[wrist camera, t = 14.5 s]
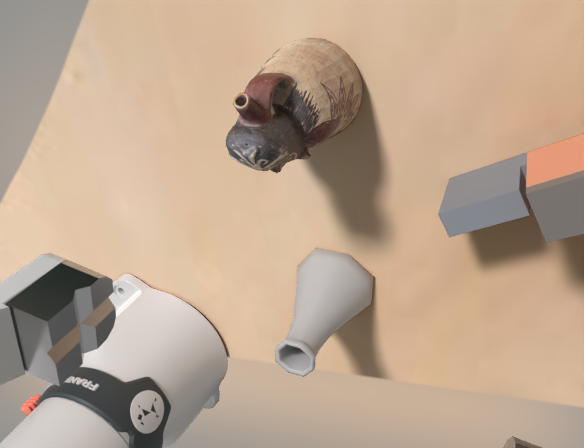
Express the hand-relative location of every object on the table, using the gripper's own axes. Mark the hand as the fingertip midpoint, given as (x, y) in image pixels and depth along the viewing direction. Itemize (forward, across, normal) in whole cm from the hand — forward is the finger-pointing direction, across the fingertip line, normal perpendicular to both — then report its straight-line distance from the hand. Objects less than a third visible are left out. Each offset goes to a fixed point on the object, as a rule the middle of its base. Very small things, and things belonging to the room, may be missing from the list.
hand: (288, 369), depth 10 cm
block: (+27, -9, +5) cm, 29 cm away
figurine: (+29, +9, +5) cm, 31 cm away
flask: (+29, +5, +22) cm, 37 cm away
